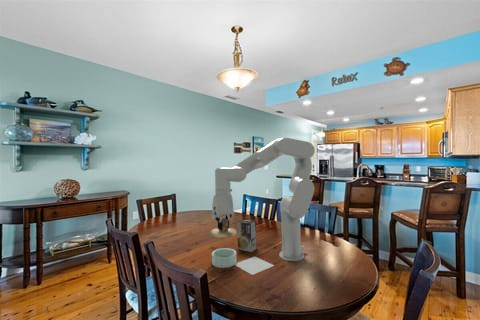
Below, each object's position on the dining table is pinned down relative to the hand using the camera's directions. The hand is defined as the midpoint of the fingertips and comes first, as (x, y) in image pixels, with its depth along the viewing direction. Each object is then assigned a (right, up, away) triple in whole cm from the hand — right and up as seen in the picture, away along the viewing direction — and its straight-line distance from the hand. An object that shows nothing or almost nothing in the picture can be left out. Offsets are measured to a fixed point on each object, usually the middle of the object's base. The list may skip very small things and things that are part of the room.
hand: (223, 228), depth 119 cm
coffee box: (+12, -17, +17) cm, 27 cm away
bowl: (0, -17, 0) cm, 17 cm away
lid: (0, -2, 0) cm, 2 cm away
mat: (+15, -17, -4) cm, 23 cm away
